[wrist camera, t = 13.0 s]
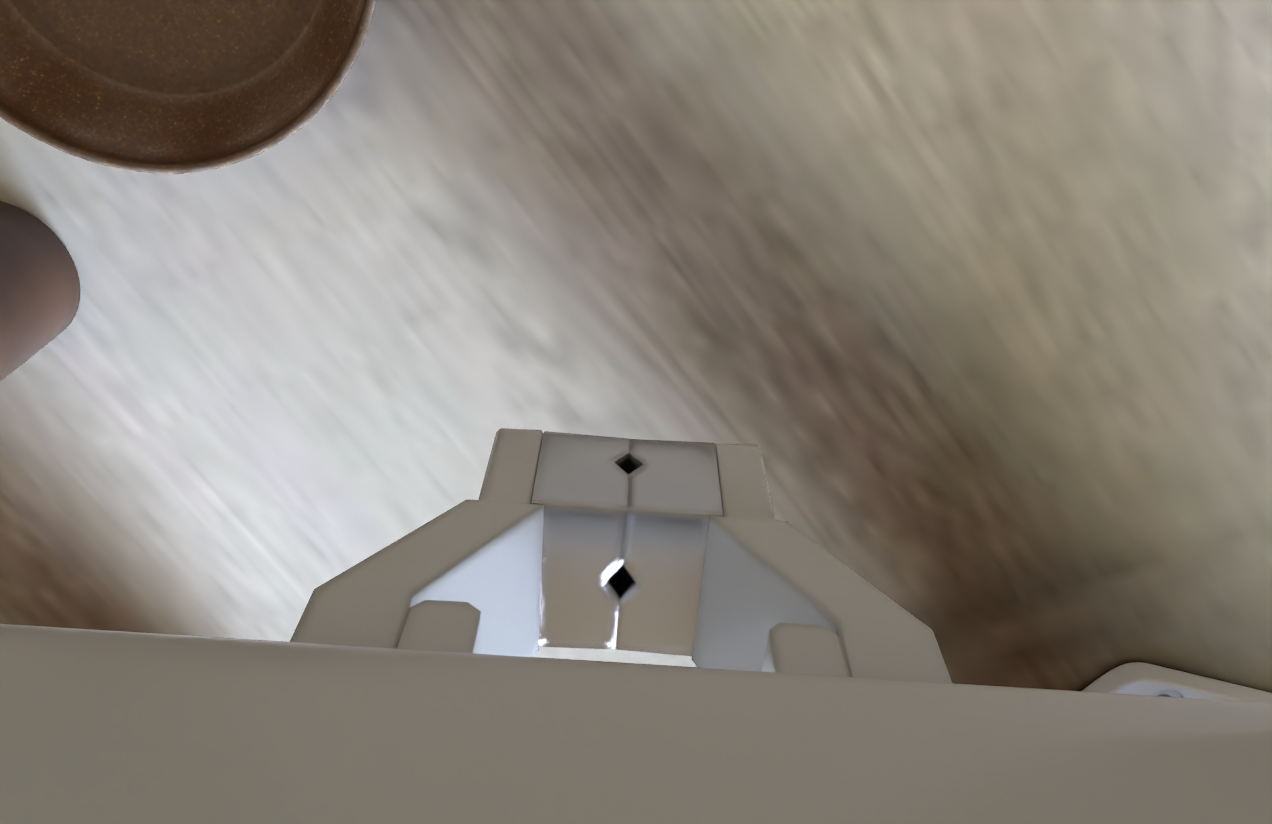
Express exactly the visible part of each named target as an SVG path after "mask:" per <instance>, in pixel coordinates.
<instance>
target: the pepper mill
mask: <svg viewBox="0 0 1272 824" xmlns="http://www.w3.org/2000/svg"><path fill="white" fill-rule="evenodd" d="M79 300H80V283H79V277H78V273H77V270H76V267H75V265H74V262H73V260H72V258H71V256H70V254H69V252H68V251H67V249H66V248H65V246H64V245H63V243H62V242H61V241H60V240H59V238H58V237H57V236H56V235H55V234H54V233H53V232H52V231H51V230H50V229H49V228H48V227H47V226H46V225H45V224H43V223H42V222H41V221H40V220H38V219H37V218H35V217H34V216H32V215H31V214H29V213H28V212H26V211H24V210H22V209H20V208H18V207H15V206H13V205H10V204H8V203H4V202H1V201H0V382H1V381H2V380H3V379H4V378H6V377H7V376H8V375H9V374H10V373H12V372H13V371H14V370H15V369H17V368H18V367H19V366H20V365H22V364H23V363H24V362H25V361H27V360H28V359H29V358H30V357H31V356H33V355H34V354H35V353H36V352H38V351H39V350H40V349H41V348H43V347H44V346H45V345H46V344H47V343H49V342H50V341H51V340H52V339H54V338H55V337H56V336H57V335H59V334H60V333H61V332H62V331H63V330H65V329H66V328H67V326H68V325H69V324H70V323H71V321H72V320H73V318H74V316H75V314H76V312H77V309H78V305H79Z"/></svg>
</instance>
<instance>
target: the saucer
mask: <svg viewBox="0 0 1272 824" xmlns="http://www.w3.org/2000/svg"><path fill="white" fill-rule="evenodd" d="M375 1H376V0H0V117H1V118H2V119H4V120H5V121H7V122H8V123H10V124H12V125H13V126H15V127H17V128H18V129H20V130H22V131H24V132H25V133H27V134H29V135H31V136H32V137H34V138H36V139H38V140H40V141H42V142H44V143H46V144H48V145H50V146H52V147H54V148H57V149H59V150H61V151H63V152H66V153H68V154H70V155H74V156H77V157H80V158H82V159H85V160H88V161H91V162H95V163H99V164H102V165H106V166H111V167H116V168H121V169H125V170H132V171H137V172H148V173H159V174H183V173H192V172H200V171H206V170H212V169H217V168H220V167H224V166H227V165H231V164H235V163H237V162H240V161H243V160H245V159H248V158H250V157H253V156H255V155H258V154H260V153H262V152H263V151H265V150H267V149H269V148H271V147H273V146H275V145H277V144H278V143H280V142H281V141H283V140H285V139H287V138H288V137H289V136H291V135H293V134H294V133H295V132H296V131H297V130H299V129H300V128H301V127H302V126H304V125H305V124H306V123H307V122H309V121H310V120H311V119H312V118H313V117H314V115H315V114H317V113H318V112H319V111H320V110H321V109H322V108H323V107H324V106H325V104H326V103H327V102H328V101H329V100H330V99H331V98H332V97H333V95H334V93H335V92H336V91H337V89H338V88H339V87H340V85H341V84H342V82H343V80H344V79H345V77H346V75H347V74H348V72H349V70H350V68H351V66H352V64H353V63H354V61H355V59H356V57H357V55H358V53H359V52H360V49H361V47H362V44H363V42H364V39H365V37H366V34H367V31H368V28H369V25H370V21H371V18H372V15H373V11H374V6H375Z"/></svg>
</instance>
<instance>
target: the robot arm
mask: <svg viewBox="0 0 1272 824" xmlns="http://www.w3.org/2000/svg"><path fill="white" fill-rule="evenodd" d="M539 647H567V648H594V649H617V650H629V651H640V652H651V653H662V654H673V655H685V656H692V660H693V661H694V663H695V664H696V665H697V667H698V668H697V667H682V666H666V665H650V664H634V663H618V662H602V661H586V660H570V659H554V658H538V657H533V656H534V655H535V654H536V652H537V651H538V650H539ZM0 824H1272V693H1270V692H1266V691H1262V690H1258V689H1253V688H1249V687H1245V686H1241V685H1237V684H1232V683H1228V682H1224V681H1220V680H1216V679H1211V678H1207V677H1203V676H1199V675H1195V674H1191V673H1186V672H1182V671H1178V670H1174V669H1170V668H1165V667H1161V666H1157V665H1153V664H1148V663H1143V662H1132V663H1127V664H1123V665H1121V666H1118V667H1116V668H1114V669H1112V670H1111V671H1109V672H1107V673H1106V674H1104V675H1103V676H1101V677H1100V678H1098V679H1097V680H1095V681H1094V682H1093V683H1092V684H1090V685H1089V686H1088V687H1086V688H1085V689H1084V690H1082V691H1066V690H1050V689H1034V688H1018V687H1002V686H986V685H970V684H954V683H952V681H951V678H950V676H949V673H948V670H947V668H946V665H945V662H944V660H943V657H942V654H941V652H940V649H939V646H938V644H937V641H936V638H935V636H934V633H933V630H932V629H930V628H929V627H928V626H926V625H925V624H924V623H922V622H921V621H920V620H918V619H917V618H916V617H914V616H913V615H912V614H910V613H909V612H908V611H906V610H905V609H904V608H902V607H901V606H900V605H898V604H897V603H896V602H894V601H893V600H892V599H890V598H889V597H888V596H886V595H885V594H884V593H882V592H881V591H880V590H878V589H877V588H876V587H874V586H873V585H872V584H870V583H869V582H868V581H866V580H865V579H864V578H862V577H861V576H860V575H858V574H857V573H856V572H854V571H853V570H852V569H850V568H849V567H848V566H846V565H845V564H844V563H842V562H841V561H840V560H838V559H837V558H835V557H834V556H833V555H831V554H830V553H829V552H827V551H826V550H825V549H823V548H822V547H821V546H819V545H818V544H817V543H815V542H814V541H813V540H811V539H810V538H809V537H807V536H806V535H805V534H803V533H802V532H801V531H799V530H798V529H797V528H795V527H794V526H793V525H791V524H790V523H789V522H787V521H778V520H775V517H774V512H773V508H772V503H771V498H770V493H769V488H768V483H767V478H766V474H765V469H764V464H763V459H762V454H761V449H760V448H759V447H758V446H757V445H748V444H715V443H706V442H683V441H661V440H639V439H627V438H616V437H604V436H593V435H581V434H570V433H559V432H547V431H545V432H544V433H543V432H542V431H541V430H528V429H505V428H501V429H499V430H498V431H497V432H496V436H495V439H494V443H493V447H492V451H491V455H490V458H489V462H488V466H487V470H486V473H485V477H484V481H483V485H482V488H481V492H480V496H479V500H465V501H463V502H462V503H460V504H458V505H457V506H455V507H453V508H452V509H450V510H448V511H447V512H445V513H443V514H441V515H440V516H438V517H436V518H435V519H433V520H431V521H430V522H428V523H426V524H424V525H423V526H421V527H419V528H418V529H416V530H414V531H413V532H411V533H409V534H407V535H406V536H404V537H402V538H401V539H399V540H397V541H396V542H394V543H392V544H390V545H389V546H387V547H385V548H384V549H382V550H380V551H379V552H377V553H375V554H373V555H372V556H370V557H368V558H367V559H365V560H363V561H362V562H360V563H358V564H356V565H355V566H353V567H351V568H350V569H348V570H346V571H345V572H343V573H341V574H339V575H338V576H336V577H334V578H333V579H331V580H329V581H328V582H326V583H324V584H323V585H321V586H319V587H317V588H316V589H314V591H313V593H312V595H311V597H310V600H309V602H308V604H307V606H306V608H305V610H304V612H303V615H302V617H301V619H300V621H299V623H298V625H297V627H296V630H295V632H294V634H293V636H292V638H291V640H290V642H283V641H267V640H251V639H235V638H219V637H203V636H187V635H171V634H155V633H139V632H123V631H107V630H91V629H74V628H58V627H42V626H26V625H10V624H0Z"/></svg>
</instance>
